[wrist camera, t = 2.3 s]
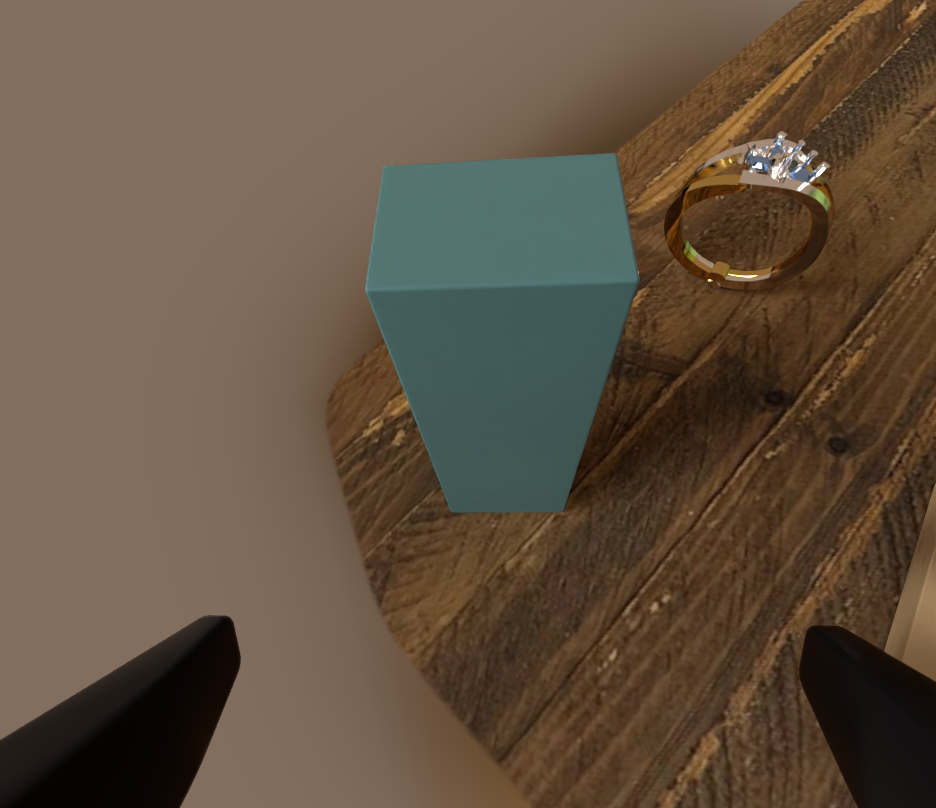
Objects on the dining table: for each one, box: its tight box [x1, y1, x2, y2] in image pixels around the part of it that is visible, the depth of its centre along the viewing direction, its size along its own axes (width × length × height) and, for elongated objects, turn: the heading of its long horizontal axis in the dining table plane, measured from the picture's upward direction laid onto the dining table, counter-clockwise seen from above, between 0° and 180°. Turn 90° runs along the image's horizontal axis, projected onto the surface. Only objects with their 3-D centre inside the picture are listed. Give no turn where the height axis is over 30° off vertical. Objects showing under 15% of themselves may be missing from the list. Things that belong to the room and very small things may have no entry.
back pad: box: [365, 153, 640, 512], centre depth 16 cm, size 4×5×15 cm
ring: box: [664, 131, 835, 290], centre depth 24 cm, size 7×3×8 cm, turn 58°
